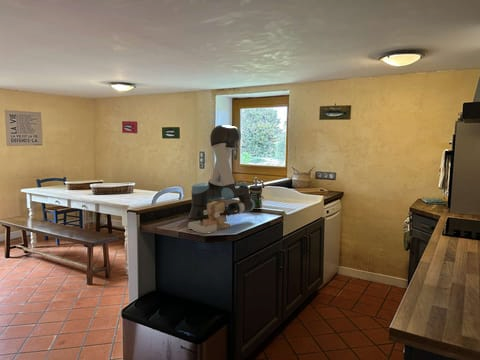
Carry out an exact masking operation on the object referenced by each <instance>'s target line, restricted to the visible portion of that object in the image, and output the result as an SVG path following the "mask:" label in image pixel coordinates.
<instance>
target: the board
mask: <svg viewBox="0 0 480 360" xmlns="http://www.w3.org/2000/svg"><path fill="white" fill-rule="evenodd" d="M201 226H204V227H206V226H207V225H203V223H201ZM229 227H230V228H231V223H227V222H224V223H223V224H221V225H218V226H217V231H221V230H220V229H222V230H226V229H230V228H229ZM225 228H226V229H225Z"/></svg>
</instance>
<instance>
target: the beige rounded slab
mask: <svg viewBox="0 0 480 360" xmlns="http://www.w3.org/2000/svg"><path fill="white" fill-rule="evenodd" d="M201 222H202V220H194V221H190V222H188V224H187V226H188V228H187V230H189V229H192V230H195V231H194V232H196V231H198V232H197V233H199V232H202V233H201V234H203V233H207V234H209V233H208V232H211V233H214V232H213V231H216V232H218V230H217V224H215V225H211V226H206V227H204V226H201V224H202V223H201ZM192 230H191V231H192Z"/></svg>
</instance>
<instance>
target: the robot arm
mask: <svg viewBox="0 0 480 360" xmlns="http://www.w3.org/2000/svg"><path fill="white" fill-rule="evenodd" d="M209 137H210V139H209V140H210V146H211V149H213V151H214V155H215V163H214V167H213V171H212V174H211V178H210V179H208V181H207V182H199V183H195V184H192V186H191V209H190V212H189V215H188V218H189V219H190V218H191V219H190V220H193V219H195V220H194V221H203V220H204V219H209V215H208V210H207V205H206V204H208V203H210V202H212V201H219V200H221V199H224V200H225V201H226V200H233V199H238V201H236V202H230V203H229V204H228V205H227V206H225V205H224V207H225V210H224V211H221V212H216V213H215V217H220V216H226V217H230V216H234V215H240V214H242V213H246V212H251V211H254V210H253V209H254V208H255V202H254V201H253V200H251V199H250V194H249V193H250V192H249V189H250V186H249V185H248V182H246V181H243V182H242V181H241V182H239V183H238V182H237V183H236V185H235V180H234V176H233V173H232V168H231V165H230V158H231V154H232V150H233V149H235V147H236V144H238V143H239V142H240V141H241V138H242V135H241V131H240V129H239V128H238V127H236V126H232V125H216V126H215V127H213V129H212V130H211V132H210V135H209Z"/></svg>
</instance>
